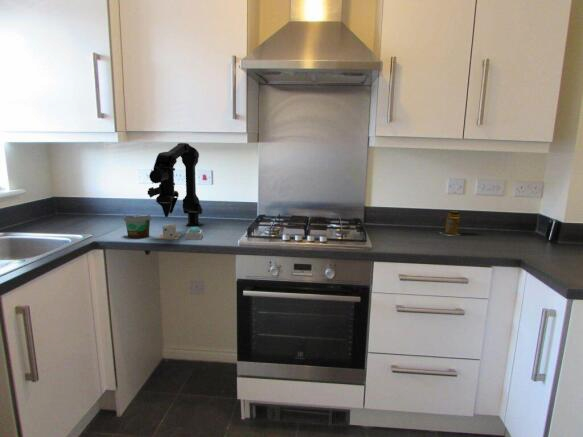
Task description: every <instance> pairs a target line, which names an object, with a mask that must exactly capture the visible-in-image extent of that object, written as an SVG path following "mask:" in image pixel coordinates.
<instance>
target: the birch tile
mask: <svg viewBox="0 0 583 437" xmlns="http://www.w3.org/2000/svg"><path fill="white" fill-rule="evenodd" d="M181 236H182V233H176V236H175V237H174V238H163V233H162V234H160V236H159V237H158V238H157V240H179V239H180V237H181Z"/></svg>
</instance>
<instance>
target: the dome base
mask: <svg viewBox="0 0 583 437" xmlns="http://www.w3.org/2000/svg"><path fill="white" fill-rule="evenodd" d="M185 234H186V236H185V238H186V240H201V239H202V238H203V229H199V233H189V229H187V231H186V233H185Z"/></svg>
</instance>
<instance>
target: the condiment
mask: <svg viewBox="0 0 583 437" xmlns="http://www.w3.org/2000/svg"><path fill="white" fill-rule="evenodd" d="M445 222H446V224H445V230H444V231H442V232H441V231H439V232H438V233H439V234H441V235H445V236H448V237H449V236H450V237H453V236H461V235H462V234H461V233H459V225H460V212H459V211H458V210H448V213H447V216H446V220H445Z"/></svg>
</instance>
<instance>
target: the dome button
mask: <svg viewBox="0 0 583 437" xmlns="http://www.w3.org/2000/svg"><path fill="white" fill-rule="evenodd" d="M188 230H189V233H199V230H200V227H199V226H190V227H189V228H188Z"/></svg>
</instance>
